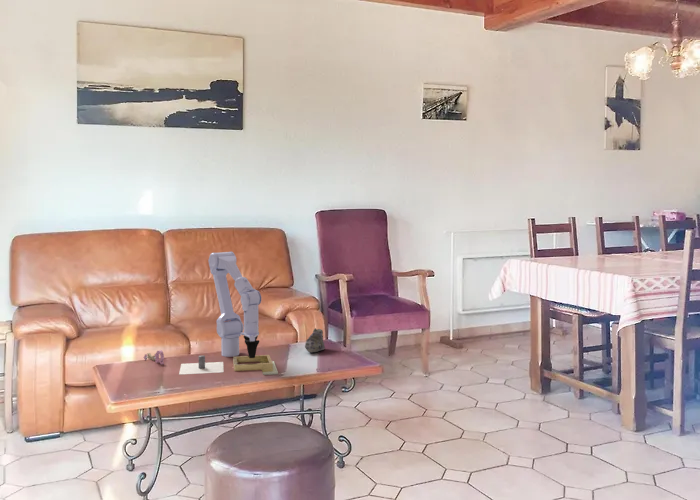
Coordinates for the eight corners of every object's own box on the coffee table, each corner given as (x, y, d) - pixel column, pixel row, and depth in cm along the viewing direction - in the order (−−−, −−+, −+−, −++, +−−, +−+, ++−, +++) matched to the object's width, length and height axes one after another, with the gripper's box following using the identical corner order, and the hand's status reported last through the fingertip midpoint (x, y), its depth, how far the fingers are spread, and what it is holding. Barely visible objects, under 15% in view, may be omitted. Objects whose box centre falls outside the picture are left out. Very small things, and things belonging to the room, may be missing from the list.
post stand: (181, 367, 254) (181, 352, 254) (223, 365, 257) (223, 350, 257) (179, 378, 239) (178, 362, 238) (223, 376, 242) (223, 360, 241)
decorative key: (145, 366, 269) (164, 367, 253) (142, 366, 268) (162, 368, 252) (144, 349, 269) (163, 350, 254) (141, 350, 268) (160, 350, 253)
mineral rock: (308, 355, 274) (308, 332, 273) (294, 351, 282) (294, 328, 282) (332, 351, 282) (332, 328, 281) (318, 347, 290) (318, 324, 290)
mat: (228, 364, 259) (228, 363, 259) (273, 362, 262) (273, 361, 262) (229, 376, 241) (229, 375, 241) (277, 374, 245) (277, 372, 245)
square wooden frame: (233, 364, 257) (233, 356, 257) (269, 362, 260) (269, 354, 260) (234, 373, 244) (234, 365, 243) (272, 371, 247) (272, 363, 246)
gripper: (240, 318, 263) (240, 351, 264) (241, 325, 249) (242, 360, 250) (257, 318, 265) (257, 351, 266) (260, 324, 250) (260, 359, 251)
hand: (251, 355), depth 258 cm, fingers open, 7 cm apart
